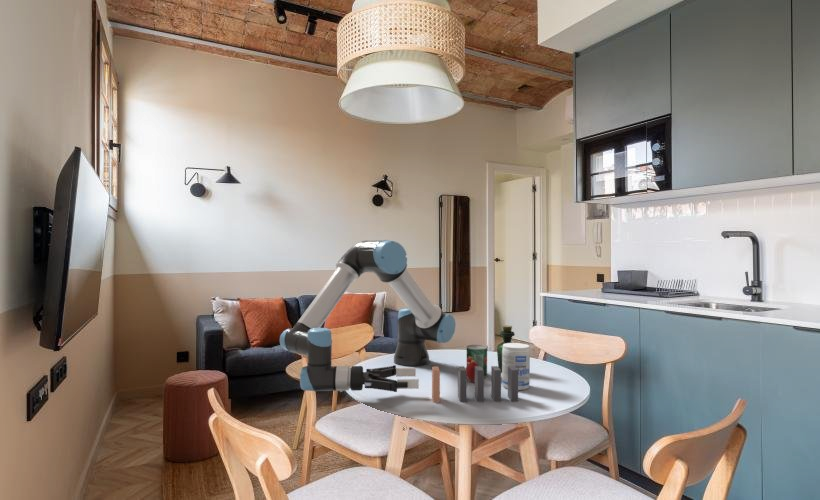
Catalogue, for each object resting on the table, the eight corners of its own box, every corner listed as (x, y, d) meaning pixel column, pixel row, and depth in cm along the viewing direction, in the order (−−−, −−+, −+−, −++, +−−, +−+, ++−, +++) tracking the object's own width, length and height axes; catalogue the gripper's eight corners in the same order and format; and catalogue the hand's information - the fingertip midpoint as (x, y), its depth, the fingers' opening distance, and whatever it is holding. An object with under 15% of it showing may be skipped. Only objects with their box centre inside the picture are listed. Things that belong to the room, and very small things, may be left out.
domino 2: (477, 401, 148) (477, 370, 148) (474, 396, 153) (474, 366, 153) (483, 401, 148) (483, 370, 148) (480, 396, 153) (480, 366, 153)
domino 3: (494, 401, 148) (494, 370, 148) (491, 396, 153) (491, 366, 153) (500, 401, 148) (501, 370, 148) (497, 396, 153) (497, 366, 153)
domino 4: (511, 401, 148) (511, 370, 148) (507, 396, 153) (507, 366, 153) (517, 401, 148) (518, 370, 148) (513, 396, 153) (514, 366, 153)
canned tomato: (491, 376, 177) (491, 347, 177) (475, 379, 173) (475, 349, 173) (478, 371, 184) (478, 343, 184) (462, 374, 180) (462, 346, 180)
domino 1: (460, 402, 148) (460, 370, 148) (457, 396, 153) (458, 366, 153) (466, 401, 148) (466, 370, 148) (463, 396, 153) (464, 366, 153)
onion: (479, 380, 172) (480, 358, 172) (482, 384, 167) (482, 362, 167) (464, 379, 172) (464, 358, 172) (466, 384, 167) (466, 362, 167)
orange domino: (433, 402, 147) (433, 370, 147) (431, 397, 152) (432, 366, 152) (439, 402, 147) (439, 370, 147) (438, 397, 152) (438, 366, 152)
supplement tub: (519, 392, 157) (520, 349, 157) (496, 386, 164) (496, 345, 164) (534, 386, 164) (535, 345, 164) (511, 381, 171) (512, 341, 171)
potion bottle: (499, 374, 180) (500, 328, 180) (494, 369, 188) (494, 324, 188) (520, 374, 181) (520, 327, 180) (513, 368, 189) (514, 324, 189)
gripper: (352, 379, 161) (414, 378, 162) (347, 403, 136) (419, 402, 137) (353, 357, 161) (414, 356, 162) (347, 377, 136) (419, 376, 137)
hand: (417, 377), depth 149 cm, fingers open, 13 cm apart
